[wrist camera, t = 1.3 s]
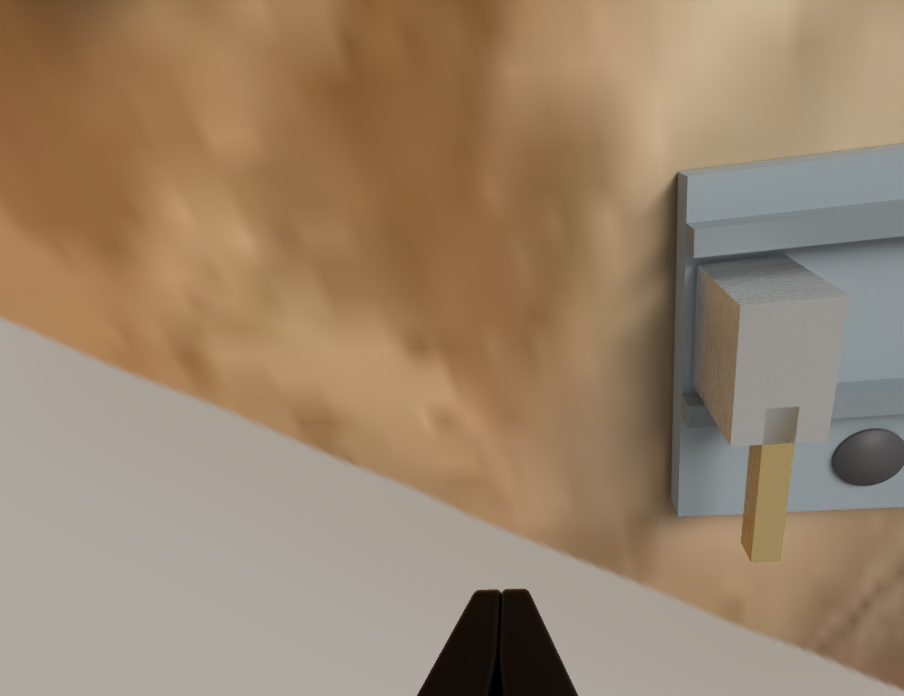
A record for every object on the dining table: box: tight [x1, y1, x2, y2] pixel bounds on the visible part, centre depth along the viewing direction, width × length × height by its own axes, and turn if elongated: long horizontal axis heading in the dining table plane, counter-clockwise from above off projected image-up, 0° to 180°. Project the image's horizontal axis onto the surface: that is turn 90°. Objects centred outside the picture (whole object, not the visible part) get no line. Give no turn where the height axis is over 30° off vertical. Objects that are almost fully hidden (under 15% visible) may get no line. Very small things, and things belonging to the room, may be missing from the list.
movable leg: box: [692, 255, 850, 562], centre depth 17 cm, size 2×8×4 cm, turn 8°
